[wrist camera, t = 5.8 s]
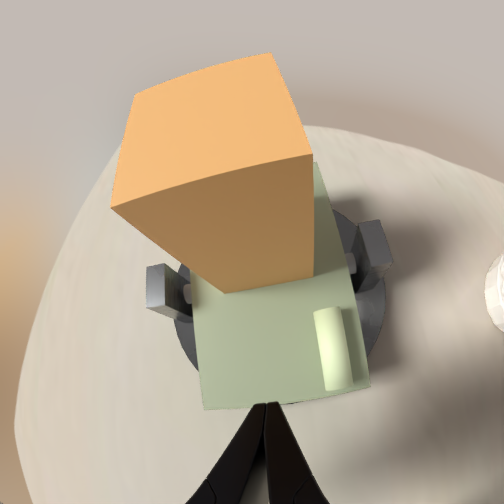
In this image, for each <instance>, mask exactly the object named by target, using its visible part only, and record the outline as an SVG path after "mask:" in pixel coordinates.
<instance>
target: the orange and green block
mask: <svg viewBox="0 0 504 504" xmlns="http://www.w3.org/2000/svg"><path fill="white" fill-rule="evenodd" d="M110 208H111V209H112V210H114V211H115V212H116V213H117V214H119V215H120V216H121V217H122V218H124V219H125V220H126V221H127V222H129V223H130V224H131V225H132V226H134V227H135V228H136V229H138V230H139V231H140V232H141V233H143V234H144V235H145V236H146V237H148V238H149V239H150V240H152V241H153V242H154V243H156V244H157V245H158V246H160V247H161V248H162V249H163V250H165V251H166V252H167V253H169V254H170V255H171V256H173V257H174V258H175V259H177V260H178V261H180V262H181V263H182V264H184V265H185V266H186V267H188V268H189V269H190V282H191V284H186V285H185V286H184V289H183V293H184V298H185V300H186V302H187V303H188V304H192V309H193V321H194V332H195V342H196V351H197V360H198V369H199V377H200V385H201V392H202V399H203V406H204V410H220V409H238V408H252V407H253V405H254V404H256V403H266V404H267V403H268V402H274V401H278V402H279V404H287V403H295V402H301V401H307V400H313V399H319V398H324V397H329V396H334V395H339V394H343V393H348V392H352V391H356V390H360V389H364V388H368V387H371V386H370V378H369V371H368V365H367V358H366V352H365V346H364V341H363V335H362V330H361V324H360V319H359V314H358V309H357V305H356V300H355V295H354V291H353V286H352V282H351V278H350V274H353V273H356V262H355V258H354V255H353V253H352V252H351V253H347V254H344V250H343V246H342V242H341V239H340V235H339V231H338V228H337V224H336V221H335V217H334V214H333V211H332V207H331V204H330V201H329V198H328V194H327V191H326V188H325V185H324V182H323V179H322V176H321V173H320V170H319V167H318V164H317V162H314V163H313V153H312V150H311V148H310V145H309V142H308V139H307V137H306V134H305V131H304V129H303V126H302V124H301V121H300V119H299V116H298V113H297V111H296V108H295V106H294V103H293V101H292V99H291V96H290V94H289V91H288V89H287V87H286V85H285V82H284V80H283V78H282V75H281V73H280V71H279V69H278V67H277V64H276V62H275V60H274V58H273V56H272V54H271V52H270V53H264V54H260V55H254V56H250V57H245V58H241V59H237V60H233V61H229V62H225V63H221V64H218V65H214V66H211V67H208V68H204V69H201V70H198V71H195V72H192V73H189V74H186V75H183V76H180V77H177V78H174V79H172V80H169V81H166V82H164V83H161V84H159V85H156V86H154V87H151V88H149V89H147V90H144V91H142V92H139V93H137V94H135V97H134V100H133V104H132V107H131V110H130V114H129V118H128V121H127V125H126V129H125V133H124V137H123V141H122V146H121V150H120V155H119V159H118V164H117V169H116V175H115V180H114V186H113V192H112V198H111V205H110Z"/></svg>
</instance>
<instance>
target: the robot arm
mask: <svg viewBox="0 0 504 504" xmlns="http://www.w3.org/2000/svg"><path fill="white" fill-rule="evenodd" d="M206 478H207V479H205V480H204V481H203V483H202V484H201V485H200V487H199V488H198V489H197V491H196V492H195V493H194V494H193V496H192V497H191V498H190V499H189V500H188V501H187V502H186V503H185V504H268V503H269V504H330V503H329V502H328V500H327V499H326V497H325V496H324V495H323V493H322V491H321V489H320V487H319V486H318V484H317V482H316V480H315V478H314V476H313V475H312V472H311V470H310V468H309V466H308V464H307V462H306V460H305V457H304V455H303V453H302V451H301V449H300V447H299V445H298V443H297V441H296V438H295V436H294V434H293V432H292V430H291V428H290V426H289V423H288V421H287V419H286V417H285V415H284V412H283V410H282V408H281V406H280V404H279V402H278V401H274V402H268V403H267V404H266V403H256V404H254V405H253V407H252V408H251V410H250V412H249V413H248V415H247V416H246V418H245V420H244V421H243V423H242V425H241V426H240V428H239V429H238V431H237V433H236V434H235V436H234V437H233V439H232V440H231V442H230V443H229V445H228V446H227V448H226V449H225V451H224V452H223V454H222V455H221V457H220V458H219V460H218V461H217V463H216V464H215V466H214V467H213V469H212V470H211V472H210V473H209V474H208V476H207V477H206ZM0 504H3V503H1V502H0Z"/></svg>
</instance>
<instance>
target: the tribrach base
mask: <svg viewBox="0 0 504 504" xmlns="http://www.w3.org/2000/svg"><path fill="white" fill-rule="evenodd" d="M332 211H333V214H334V217H335V221H336V224H337V228H338V231H339V235H340V239H341V242H342V246H343V250H344V254H347V253H351V252H352V253H353V255H354V258H355V262H356V273H353V274H350V278H351V282H352V286H353V291H354V295H355V300H356V305H357V309H358V314H359V319H360V324H361V330H362V335H363V341H364V346H365V352H366V357H367V356H368V355H369V353H370V351H371V349H372V348H373V346H374V344H375V342H376V340H377V337H378V335H379V332H380V329H381V326H382V322H383V318H384V313H385V301H386V294H385V282H384V277H383V276H384V274H385V273H386V271H387V270H388V269H389V267H390V266H391V264H392V263H393V259H392V256H391V252H390V249H389V246H388V243H387V240H386V237H385V234H384V231H383V229H382V226H381V223H380V220H374V221H369V222H364V223H359V224H358V227H356V226H355V225H354V224H353V223H352V222H351V221H349V220H348V219H347V218H346V217H344V216H343V215H341V214H340V213H338V212H337V211H335V210H333V209H332ZM186 284H191V282H190V269H189V268H188V267H186V266H185V265H184V264H182V263H181V266H180V268H179V271H178V273H177V272H175V271H174V270H173V269H171V268H170V267H169V266H167V265H166V264H165V263H163V264H158V265H154V266H149V267H147V270H146V308H148V309H150V310H153V311H155V312H158V313H160V314H163V315H165V316H168V317H170V318H173V319H174V323H175V327H176V331H177V335H178V338H179V340H180V343H181V345H182V348H183V350H184V351H185V353H186V355H187V357H188V358H189V360H190V361H191V363H192V364H193V365H194V367H195V368H196V369H197V370H198V371H199V369H198V360H197V351H196V342H195V332H194V321H193V309H192V304H188V303H187V302H186V300H185V298H184V293H183V289H184V286H185V285H186ZM301 402H302V401H301ZM295 403H298V402H295ZM287 404H293V403H287ZM280 405H283V404H280Z"/></svg>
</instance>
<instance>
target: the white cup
mask: <svg viewBox="0 0 504 504" xmlns="http://www.w3.org/2000/svg"><path fill="white" fill-rule="evenodd" d="M484 294H485V299H486V306H487V311H488V313H489V315H490V317H491V319H492V321H493V323H494V325H495V326H496V327H498V328H499V329H500V330H501V331H503V332H504V253H503V254H502V255H500V256H499V257H498V258H497V259H496V260H495V261H494V262H493V263H492V265H491V267H490V269H489V271H488V272H487V274H486V282H485V289H484Z"/></svg>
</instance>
